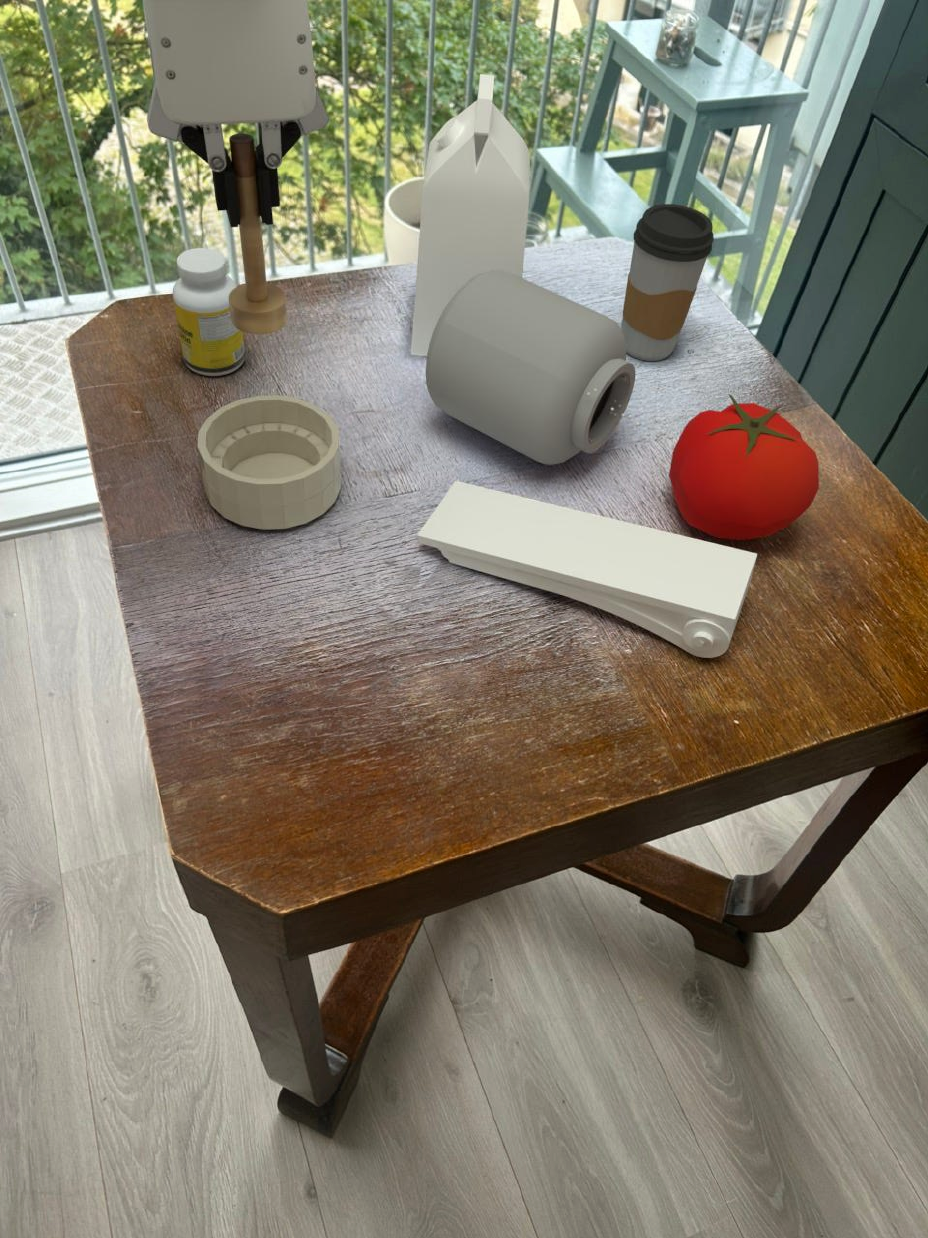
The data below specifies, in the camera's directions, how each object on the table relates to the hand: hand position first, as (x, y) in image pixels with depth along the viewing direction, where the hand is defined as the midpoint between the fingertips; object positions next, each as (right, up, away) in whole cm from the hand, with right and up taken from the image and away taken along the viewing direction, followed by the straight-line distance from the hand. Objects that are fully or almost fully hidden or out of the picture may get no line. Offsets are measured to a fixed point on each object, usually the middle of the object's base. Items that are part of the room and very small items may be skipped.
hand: (249, 215), depth 69 cm
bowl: (-2, -17, +20) cm, 27 cm away
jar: (+26, -11, +29) cm, 40 cm away
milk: (+16, +4, +40) cm, 43 cm away
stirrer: (-1, -6, +6) cm, 9 cm away
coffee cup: (+37, +2, +41) cm, 55 cm away
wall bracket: (+26, -26, +16) cm, 40 cm away
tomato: (+41, -20, +22) cm, 51 cm away
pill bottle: (-11, -2, +33) cm, 34 cm away
